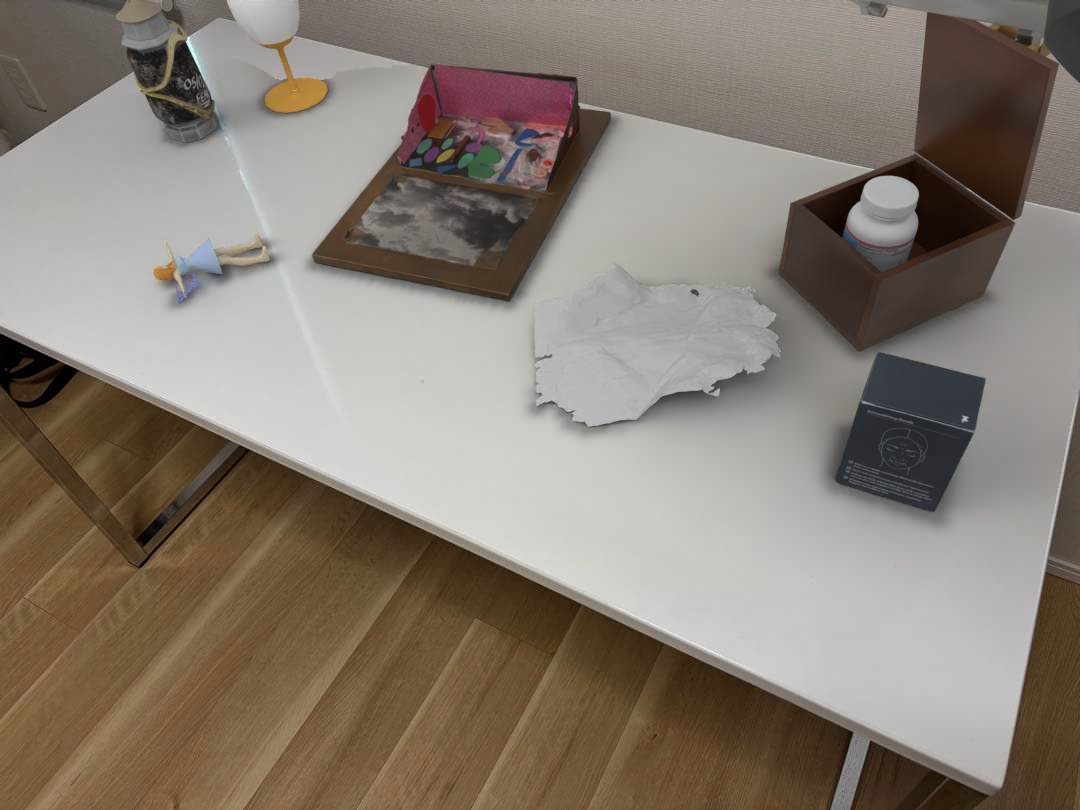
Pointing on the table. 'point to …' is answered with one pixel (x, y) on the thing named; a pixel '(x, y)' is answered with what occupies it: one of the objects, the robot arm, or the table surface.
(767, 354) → the paper
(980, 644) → the table surface
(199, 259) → the fairy figurine
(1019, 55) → the chest lid
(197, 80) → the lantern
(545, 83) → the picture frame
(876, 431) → the box
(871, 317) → the chest
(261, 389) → the table surface
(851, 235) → the pill bottle
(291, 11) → the cup
